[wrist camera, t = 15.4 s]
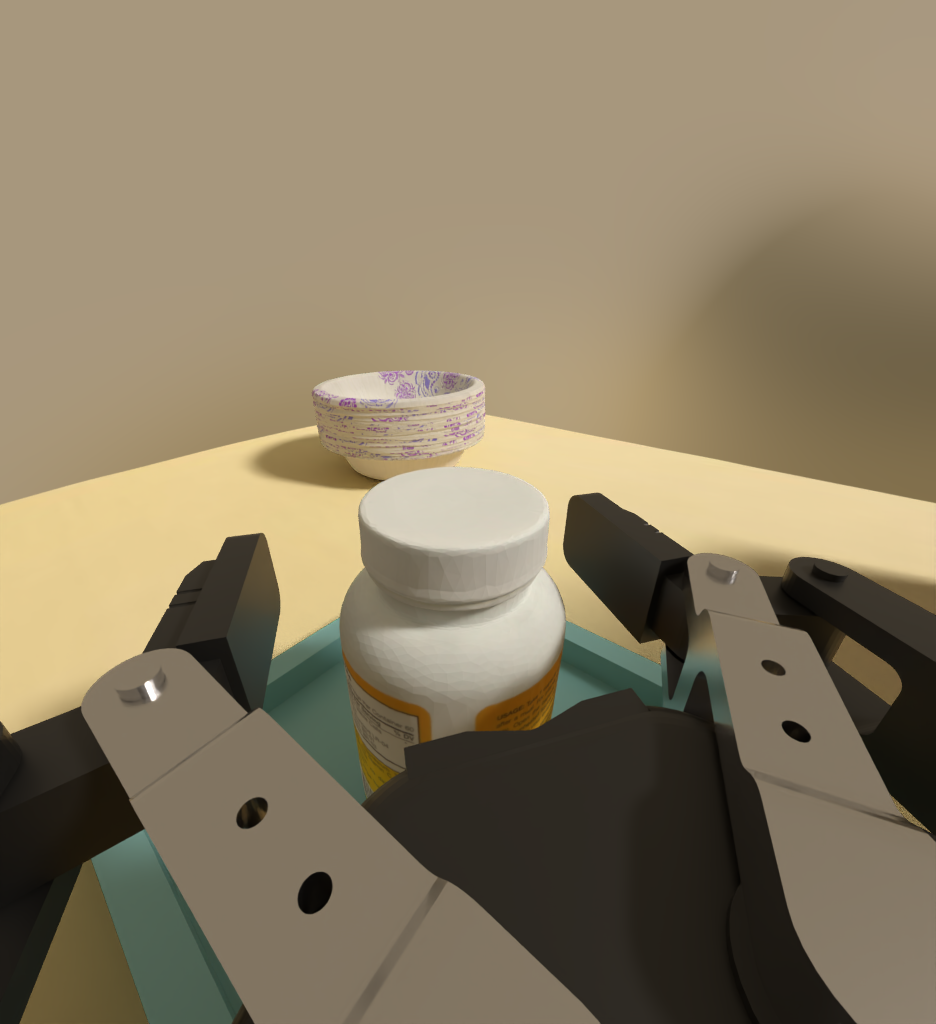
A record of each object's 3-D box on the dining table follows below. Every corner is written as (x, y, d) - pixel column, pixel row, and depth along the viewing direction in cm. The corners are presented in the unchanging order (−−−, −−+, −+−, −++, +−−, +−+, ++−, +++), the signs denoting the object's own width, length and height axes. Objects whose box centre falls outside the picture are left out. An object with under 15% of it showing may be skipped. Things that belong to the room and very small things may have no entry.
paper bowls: (293, 491, 34) (273, 394, 31) (360, 439, 48) (352, 367, 44) (473, 502, 32) (475, 401, 29) (490, 445, 46) (493, 371, 42)
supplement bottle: (347, 883, 10) (269, 571, 6) (383, 702, 15) (353, 456, 11) (557, 880, 11) (624, 571, 6) (527, 701, 15) (553, 456, 11)
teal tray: (435, 585, 23) (434, 558, 22) (752, 751, 14) (769, 716, 13) (92, 823, 12) (65, 787, 11) (523, 1966, 4) (540, 2139, 3)
